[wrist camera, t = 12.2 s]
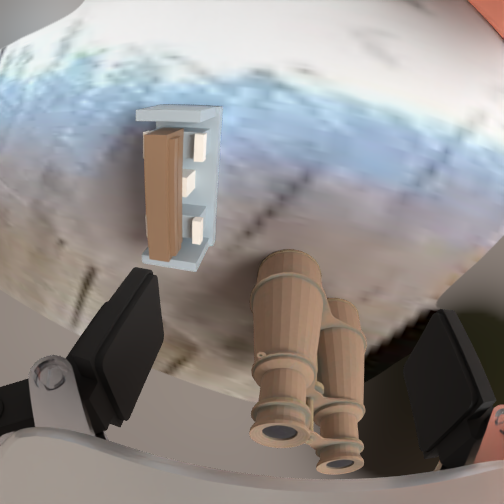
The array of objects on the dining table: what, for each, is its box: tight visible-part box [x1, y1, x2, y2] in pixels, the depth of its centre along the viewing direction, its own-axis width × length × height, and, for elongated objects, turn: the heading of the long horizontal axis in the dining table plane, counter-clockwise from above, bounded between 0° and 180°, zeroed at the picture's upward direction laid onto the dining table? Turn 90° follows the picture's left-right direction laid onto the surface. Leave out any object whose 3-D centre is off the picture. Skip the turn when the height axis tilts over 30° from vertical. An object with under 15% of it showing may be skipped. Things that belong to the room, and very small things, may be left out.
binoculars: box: [249, 249, 367, 474], centre depth 36 cm, size 21×10×25 cm, turn 42°
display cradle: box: [136, 104, 223, 272], centre depth 36 cm, size 18×8×8 cm, turn 175°
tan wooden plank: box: [144, 127, 184, 262], centre depth 33 cm, size 14×3×5 cm, turn 175°
